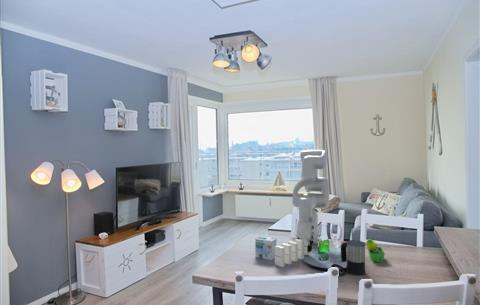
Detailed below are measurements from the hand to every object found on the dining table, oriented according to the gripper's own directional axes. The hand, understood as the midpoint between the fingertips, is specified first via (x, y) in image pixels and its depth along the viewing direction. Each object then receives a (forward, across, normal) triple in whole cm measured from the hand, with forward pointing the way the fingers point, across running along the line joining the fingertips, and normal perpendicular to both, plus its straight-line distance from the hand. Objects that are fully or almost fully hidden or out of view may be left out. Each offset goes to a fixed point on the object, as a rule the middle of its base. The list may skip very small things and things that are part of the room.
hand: (305, 250), depth 193 cm
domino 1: (+3, 0, +22) cm, 23 cm away
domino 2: (+3, 0, +17) cm, 17 cm away
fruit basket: (+3, -30, -22) cm, 38 cm away
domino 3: (+3, 0, +12) cm, 12 cm away
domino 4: (+3, 0, +6) cm, 7 cm away
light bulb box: (+3, +14, +18) cm, 23 cm away
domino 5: (+2, 0, 0) cm, 2 cm away
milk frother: (+3, -30, +5) cm, 31 cm away
